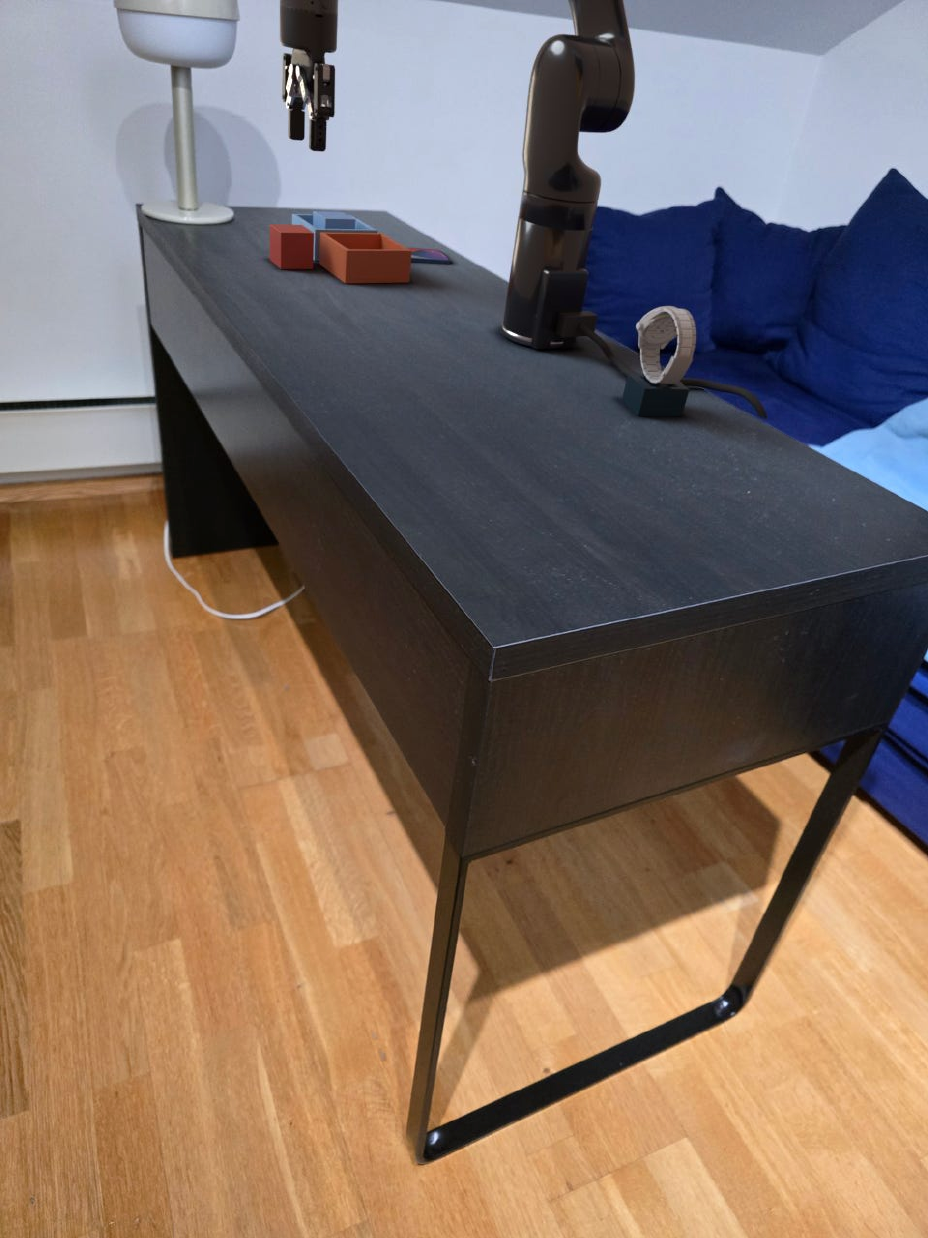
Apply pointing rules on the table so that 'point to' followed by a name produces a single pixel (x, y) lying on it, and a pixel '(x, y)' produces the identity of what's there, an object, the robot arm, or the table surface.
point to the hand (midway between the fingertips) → (306, 145)
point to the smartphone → (428, 256)
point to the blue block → (332, 220)
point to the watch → (655, 387)
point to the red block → (291, 246)
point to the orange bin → (364, 258)
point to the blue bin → (308, 223)
